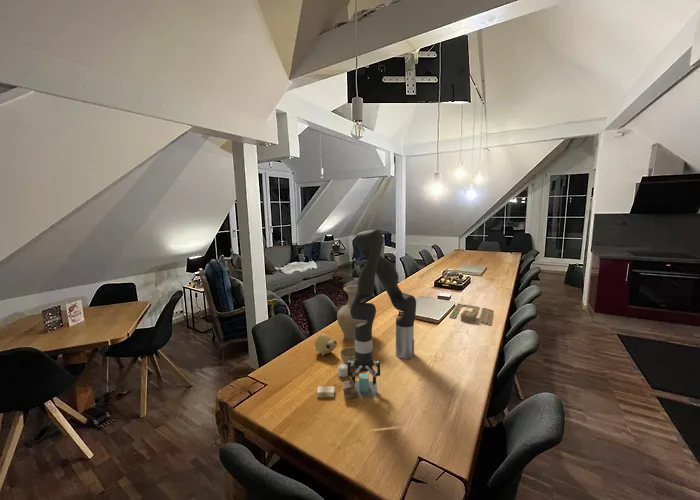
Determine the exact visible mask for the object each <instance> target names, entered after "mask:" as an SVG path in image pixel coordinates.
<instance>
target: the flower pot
mask: <svg viewBox="0 0 700 500" xmlns="http://www.w3.org/2000/svg"><path fill="white" fill-rule="evenodd" d="M339 354H340V357H341V360H342V362H343V364H346V365H348V360H351V361H354V360H355V346H354V347H353V346H351V347H350V346H348V347H345V348H342V349H341V350H340V353H339ZM355 367H356V366H355V365H354V364H353V365H352V366H351V369H352V368H355Z"/></svg>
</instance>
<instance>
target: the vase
mask: <svg viewBox="0 0 700 500" xmlns="http://www.w3.org/2000/svg"><path fill="white" fill-rule="evenodd" d="M357 286H358V284H357V285H356V284H355V285H354V284H353V285H347V286H344V287H343V291H344V292H345V293H346V294H347V297H348V298H347V303H346V304H345V305H343V306H342V307H341V308H339V309H338V311H337V314H336V319H337V324H338V325H339V327H340V329H341V332H342V334H343V338H344V339H345V340H347V341H350V342H355V327H356V325H357V324H360V323H365V322H367V320H359V319H353V318H352V316H351V314H350V309H351V306H352V304H353V301H354V299H355V296H356V293H357ZM362 301H363V300H362ZM362 301H361V302H362ZM362 303H363V302H362Z"/></svg>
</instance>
